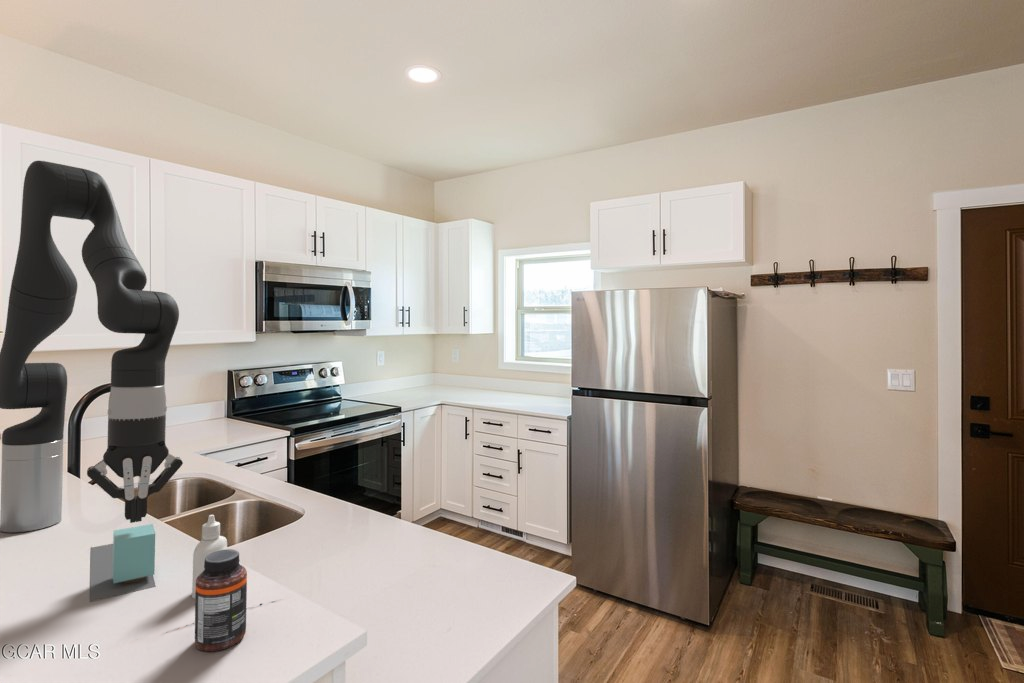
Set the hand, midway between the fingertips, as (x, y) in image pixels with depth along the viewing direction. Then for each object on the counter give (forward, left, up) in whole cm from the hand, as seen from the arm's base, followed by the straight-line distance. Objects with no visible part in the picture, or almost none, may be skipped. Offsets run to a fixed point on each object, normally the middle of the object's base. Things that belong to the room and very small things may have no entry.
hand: (135, 520), depth 82 cm
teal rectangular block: (0, 0, -8) cm, 8 cm away
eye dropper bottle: (+11, +9, -10) cm, 17 cm away
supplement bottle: (+26, +8, -10) cm, 29 cm away
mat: (-7, -2, -10) cm, 12 cm away
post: (0, 0, -9) cm, 9 cm away
